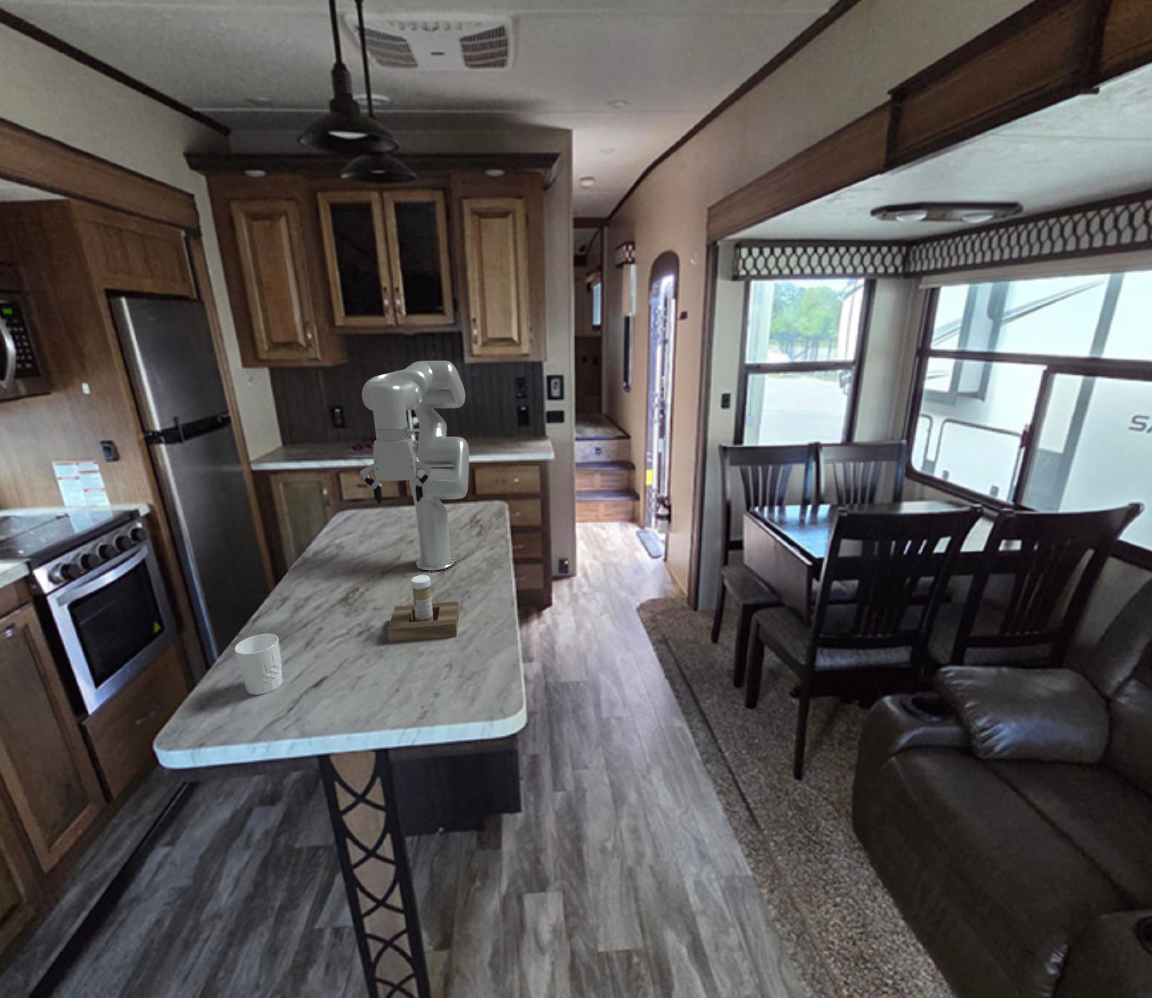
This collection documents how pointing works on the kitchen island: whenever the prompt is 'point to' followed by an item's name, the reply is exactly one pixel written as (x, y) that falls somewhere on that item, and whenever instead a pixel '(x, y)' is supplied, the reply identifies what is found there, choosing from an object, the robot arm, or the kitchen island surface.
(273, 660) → the white cup
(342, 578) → the kitchen island surface
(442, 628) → the walnut holder
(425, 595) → the sprinkles bottle
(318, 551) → the kitchen island surface
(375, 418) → the robot arm
